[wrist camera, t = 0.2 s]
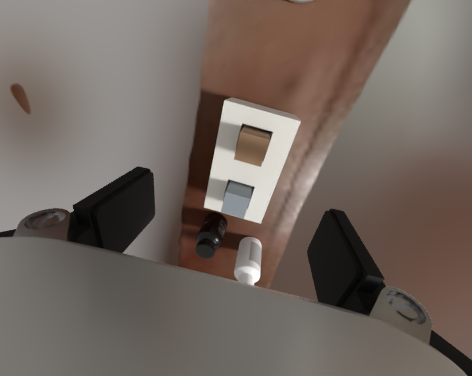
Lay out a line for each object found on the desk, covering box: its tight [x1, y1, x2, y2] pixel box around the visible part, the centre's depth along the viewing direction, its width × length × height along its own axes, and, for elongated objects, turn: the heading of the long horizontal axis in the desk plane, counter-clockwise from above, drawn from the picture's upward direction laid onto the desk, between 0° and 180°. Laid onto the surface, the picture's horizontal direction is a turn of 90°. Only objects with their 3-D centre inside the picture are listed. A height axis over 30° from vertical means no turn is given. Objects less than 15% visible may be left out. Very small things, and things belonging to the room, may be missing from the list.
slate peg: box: [221, 180, 252, 218], centre depth 42 cm, size 5×5×6 cm
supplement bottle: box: [195, 213, 227, 259], centre depth 53 cm, size 7×7×12 cm
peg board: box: [204, 97, 301, 224], centre depth 44 cm, size 24×14×8 cm, turn 167°
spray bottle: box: [234, 237, 262, 285], centre depth 52 cm, size 7×7×18 cm
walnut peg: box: [234, 125, 270, 167], centre depth 36 cm, size 5×5×6 cm
